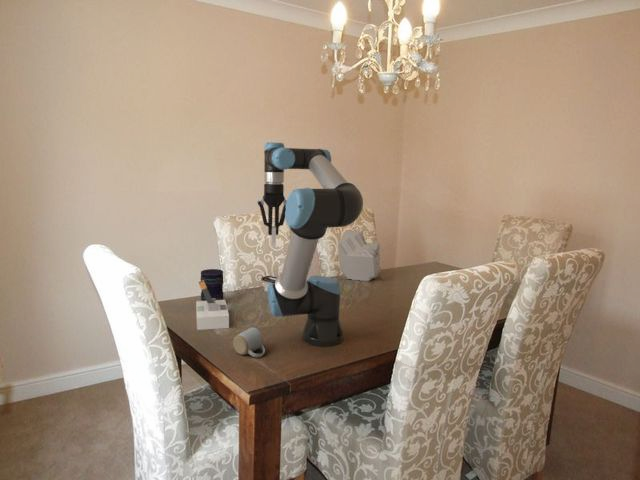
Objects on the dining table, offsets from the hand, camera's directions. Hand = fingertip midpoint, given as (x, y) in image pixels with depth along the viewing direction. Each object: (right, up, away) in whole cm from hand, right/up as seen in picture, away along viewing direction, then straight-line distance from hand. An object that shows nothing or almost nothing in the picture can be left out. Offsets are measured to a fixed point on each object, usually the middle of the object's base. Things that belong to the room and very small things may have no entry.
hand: (273, 243), depth 184 cm
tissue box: (+41, -21, +74) cm, 87 cm away
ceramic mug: (-5, -38, -24) cm, 45 cm away
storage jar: (-30, -28, +24) cm, 47 cm away
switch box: (-25, -31, +4) cm, 40 cm away
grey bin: (-5, -25, +45) cm, 52 cm away
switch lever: (-25, -25, +3) cm, 36 cm away
